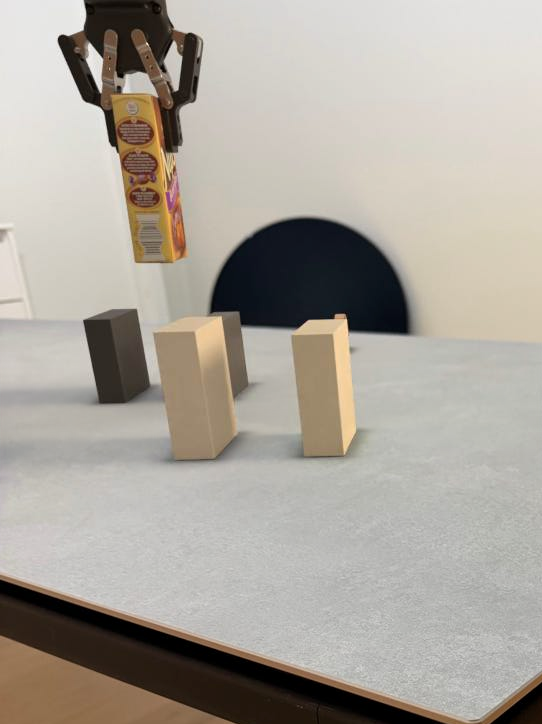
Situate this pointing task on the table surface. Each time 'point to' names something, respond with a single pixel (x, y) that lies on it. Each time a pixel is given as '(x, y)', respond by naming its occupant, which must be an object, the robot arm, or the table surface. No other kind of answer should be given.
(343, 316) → the perforated watch strap
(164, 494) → the table surface
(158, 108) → the candy box
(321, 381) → the beige blocks
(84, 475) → the table surface
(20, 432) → the table surface
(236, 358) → the grey rectangular blocks
